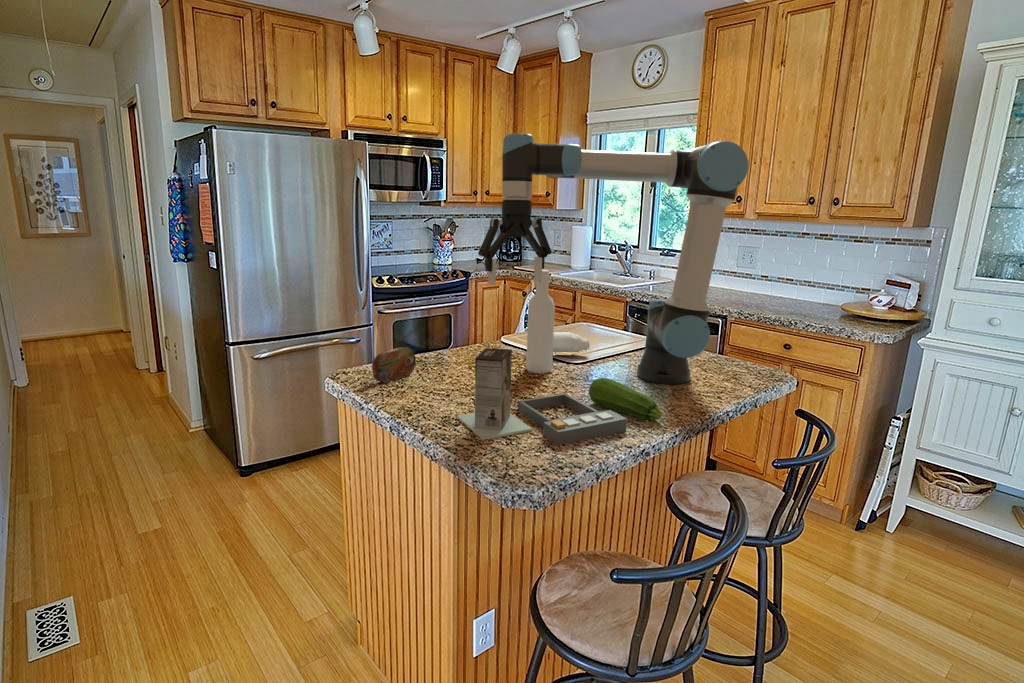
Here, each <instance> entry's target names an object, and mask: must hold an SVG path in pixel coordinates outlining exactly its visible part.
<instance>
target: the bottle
mask: <svg viewBox="0 0 1024 683" xmlns="http://www.w3.org/2000/svg"><path fill="white" fill-rule="evenodd" d="M549 279H550V270H548V269H542V280H541V282H535V294H534V295H533V296H532V297H531V298H530V300H529V302H528V306H527V309H528V310H527V329H526V330H527V332H526V333H527V336H526V359H525V369H526V371H528V372H530V373H533V374H547V373H550V372H552V370H553V364H554V362H553V361H554V360H553V334H554V332H555V302H554V299H553V297H551V296H550V295H549V284H550V280H549Z"/></svg>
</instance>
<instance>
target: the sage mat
mask: <svg viewBox="0 0 1024 683" xmlns="http://www.w3.org/2000/svg"><path fill="white" fill-rule="evenodd" d="M457 418H458V419H459V420H458V419H457ZM456 419H457V420H458V421H459V422H460V423H462V422H463V423H464V424H465V425H466V426H465V425H464V424H463V423H462V424H463V425H464V426H465V427H467V428H468V429H469V430H470V429H471V430H472V431H473V432H472V431H471V430H470V431H471V432H472V433H473V434H475V435H476V436H477V435H478V436H479V437H480V438H479V437H478V436H477V437H478V438H479V439H480V440H481V441H486V440H485V439H488V440H493V439H498V438H503V436H504V437H507V436H508V437H509V436H513V435H518V434H524V433H529V432H533V428H532V427H530V426H529V425H528V424H526V423H525V422H523V421H522V420H520V419H519V418H518V417H516V416H515V415H513V414H512V413H511V412H510V417H509V418H508V420H507V422H506V424H505V425H504V427H503V429H502V430H495V429H485V428H476V427H475V412H470V413H463V414H459V415H458V414H457V415H456ZM497 437H498V438H497ZM492 438H493V439H492Z"/></svg>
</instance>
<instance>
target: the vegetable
mask: <svg viewBox="0 0 1024 683" xmlns="http://www.w3.org/2000/svg"><path fill="white" fill-rule="evenodd" d="M588 395H589V398H590V400H591V402H592V403H594V404H595V405H596V406H598V407H600V408H603V409H606V410H611V411H613V412H616V413H617V412H618V413H622V414H626V415H630V416H633V417H636V418H638V419H640V420H643V421H646V420H648V421H651V420H652V421H657V420H659V419H660V418H661V417H662V414H663V412H662V411H661V410H660V408H659V407H658V405H657V403H656V402H655V400H654V399H653V398H652V397H650V396H648V395H646V394H644V393H642V392H639V391H637V390H635V389H632V388H631V387H629V386H627V385H625V384H622V383H621V382H618V381H616V380H614V379H611V378H608V377H600V378H596V379H594V380H592V382H591V383H590V385H589V388H588ZM648 421H647V422H648Z"/></svg>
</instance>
